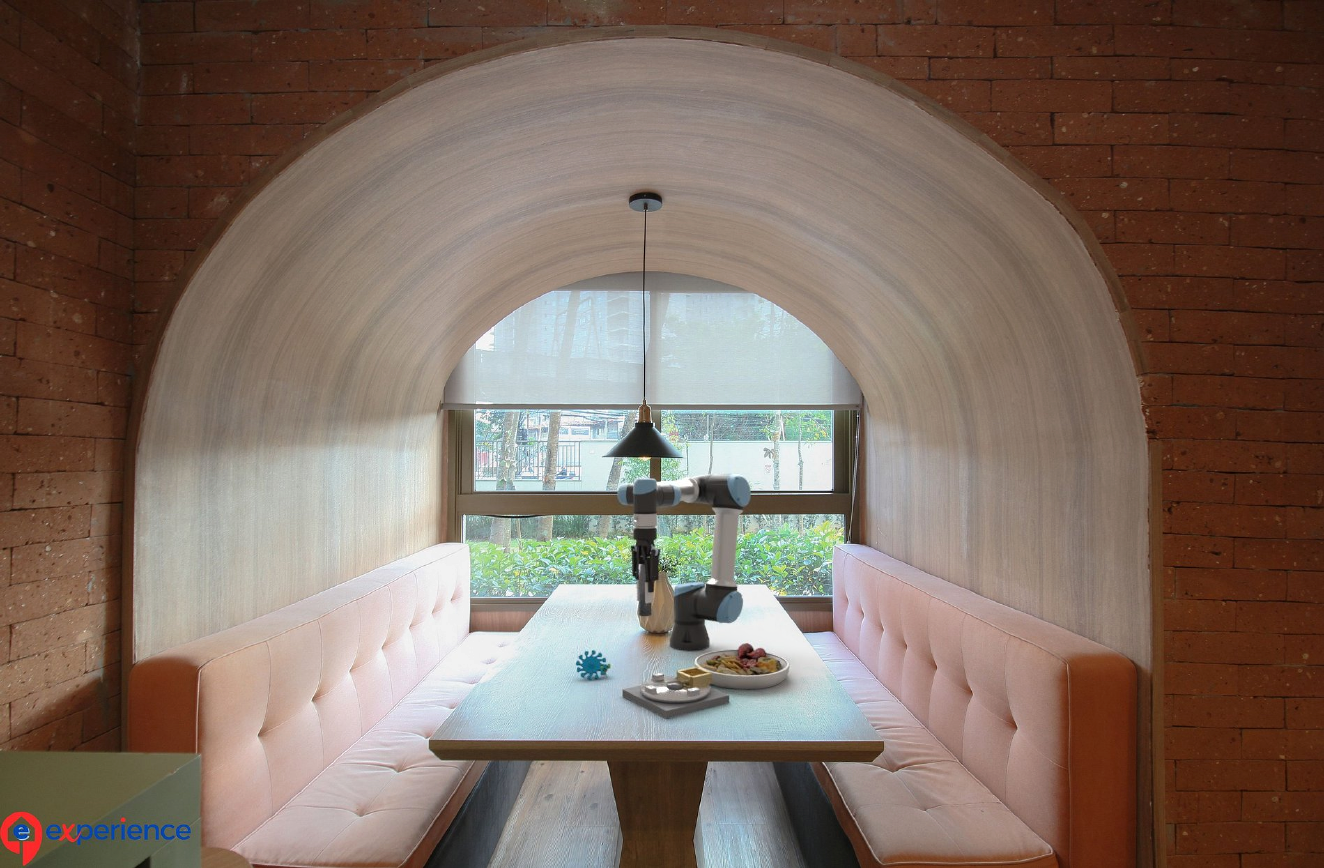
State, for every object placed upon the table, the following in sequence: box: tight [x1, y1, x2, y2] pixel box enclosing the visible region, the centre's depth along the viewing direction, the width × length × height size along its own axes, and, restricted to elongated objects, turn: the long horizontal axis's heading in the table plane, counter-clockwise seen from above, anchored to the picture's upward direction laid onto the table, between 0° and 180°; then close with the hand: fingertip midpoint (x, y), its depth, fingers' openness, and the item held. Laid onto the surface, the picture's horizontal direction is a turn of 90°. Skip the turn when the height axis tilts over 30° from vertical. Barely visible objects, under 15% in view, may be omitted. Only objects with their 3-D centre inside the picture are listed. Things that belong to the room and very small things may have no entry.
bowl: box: [694, 642, 790, 690], centre depth 217 cm, size 30×30×8 cm
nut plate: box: [621, 684, 730, 720], centre depth 196 cm, size 22×22×2 cm
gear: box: [575, 649, 611, 681], centre depth 218 cm, size 11×6×10 cm
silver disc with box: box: [640, 666, 713, 703], centre depth 196 cm, size 21×20×4 cm
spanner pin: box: [638, 563, 652, 617], centre depth 215 cm, size 4×4×16 cm
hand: (645, 601), depth 215 cm, fingers closed on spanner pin, 4 cm apart
